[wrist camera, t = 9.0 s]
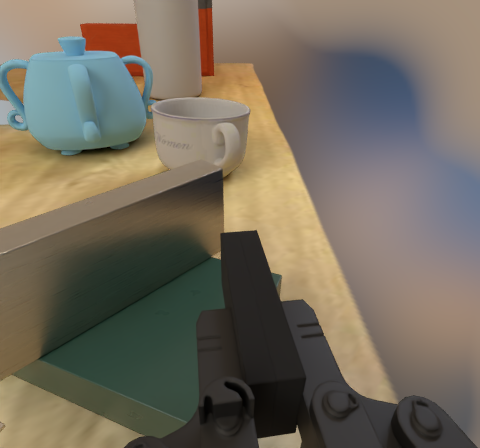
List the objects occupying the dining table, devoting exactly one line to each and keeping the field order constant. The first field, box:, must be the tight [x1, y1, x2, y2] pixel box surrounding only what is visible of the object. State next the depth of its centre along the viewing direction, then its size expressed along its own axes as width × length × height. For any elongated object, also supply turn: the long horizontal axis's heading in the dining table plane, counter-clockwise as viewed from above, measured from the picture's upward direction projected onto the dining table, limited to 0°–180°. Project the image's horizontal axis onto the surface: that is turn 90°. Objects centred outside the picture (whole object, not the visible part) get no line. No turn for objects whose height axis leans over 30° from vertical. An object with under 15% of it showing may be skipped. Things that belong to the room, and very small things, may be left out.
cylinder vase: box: [134, 0, 202, 100], centre depth 70 cm, size 12×12×25 cm
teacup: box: [151, 97, 250, 177], centre depth 38 cm, size 14×11×8 cm
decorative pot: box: [0, 37, 156, 155], centre depth 46 cm, size 16×16×14 cm
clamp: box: [80, 0, 214, 76], centre depth 93 cm, size 9×35×28 cm, turn 96°
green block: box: [0, 257, 282, 439], centre depth 20 cm, size 18×18×3 cm
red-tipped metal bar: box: [0, 159, 224, 381], centre depth 18 cm, size 14×2×6 cm, turn 136°
